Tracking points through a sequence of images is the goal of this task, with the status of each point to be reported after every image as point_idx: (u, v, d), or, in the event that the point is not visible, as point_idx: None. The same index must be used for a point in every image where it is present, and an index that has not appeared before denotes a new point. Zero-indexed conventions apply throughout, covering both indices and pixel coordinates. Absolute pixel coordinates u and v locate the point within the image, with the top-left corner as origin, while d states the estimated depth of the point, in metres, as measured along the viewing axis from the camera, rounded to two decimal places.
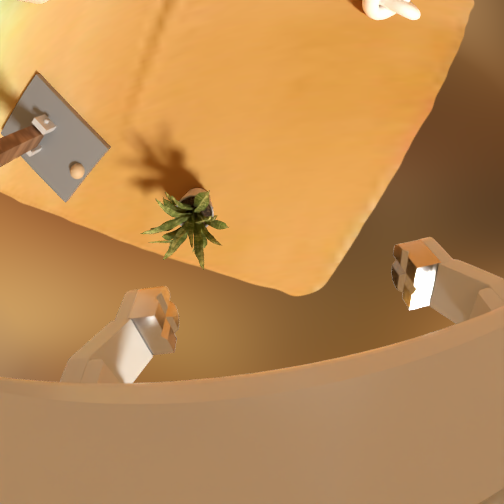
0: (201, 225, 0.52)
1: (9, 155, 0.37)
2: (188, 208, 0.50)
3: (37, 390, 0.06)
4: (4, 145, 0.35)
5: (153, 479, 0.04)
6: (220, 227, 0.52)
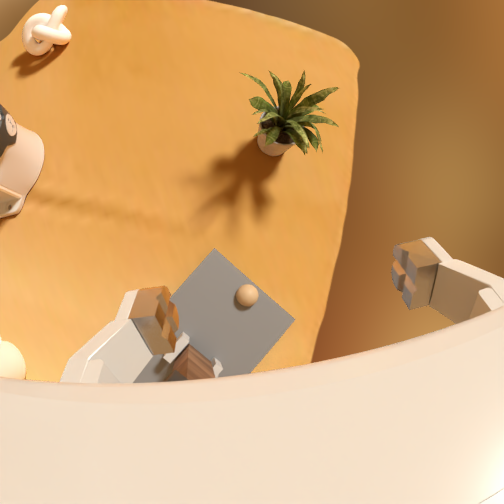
0: None
1: (202, 373, 0.30)
2: None
3: (37, 390, 0.06)
4: None
5: (153, 479, 0.04)
6: (289, 86, 0.41)
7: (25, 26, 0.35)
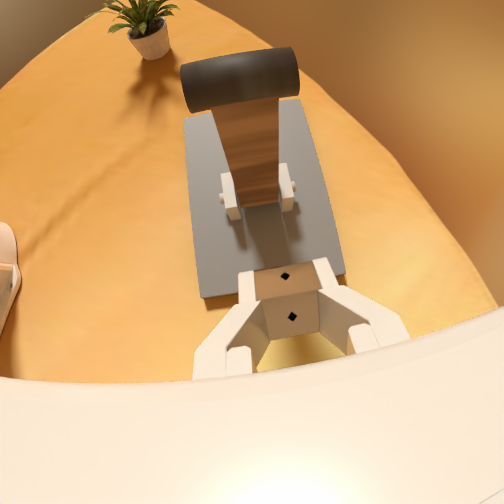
0: None
1: None
2: (130, 22, 0.35)
3: (37, 390, 0.06)
4: None
5: (154, 479, 0.04)
6: (125, 7, 0.36)
7: None
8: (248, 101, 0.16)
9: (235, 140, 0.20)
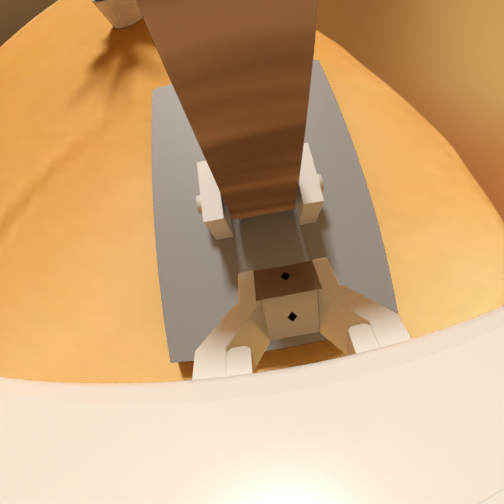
0: None
1: None
2: None
3: (37, 390, 0.06)
4: None
5: (154, 479, 0.04)
6: None
7: None
8: None
9: (203, 61, 0.07)
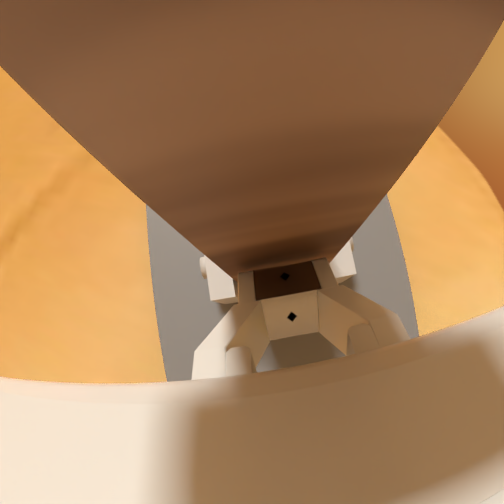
0: None
1: None
2: None
3: (37, 390, 0.06)
4: None
5: (153, 479, 0.04)
6: None
7: None
8: None
9: (206, 172, 0.04)
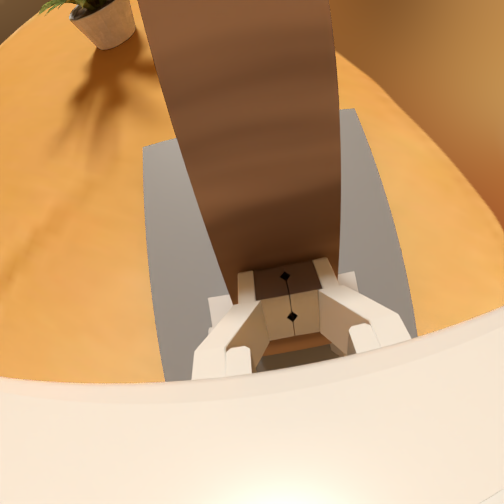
0: None
1: None
2: None
3: (37, 390, 0.06)
4: None
5: (153, 479, 0.04)
6: None
7: None
8: None
9: (201, 64, 0.06)
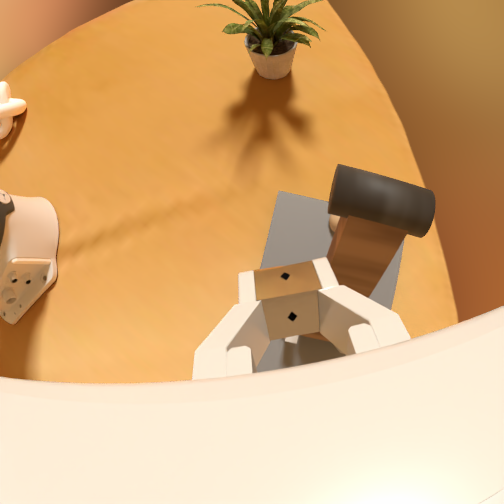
0: None
1: None
2: (254, 30, 0.30)
3: (37, 390, 0.06)
4: (334, 241, 0.22)
5: (154, 479, 0.04)
6: (252, 2, 0.30)
7: None
8: (382, 224, 0.18)
9: (347, 260, 0.21)
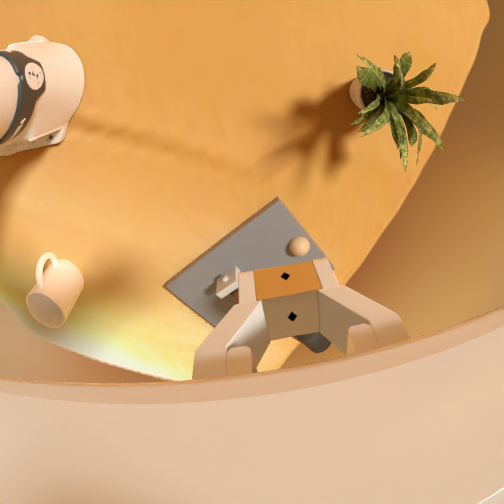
0: (403, 87, 0.28)
1: None
2: (378, 98, 0.29)
3: (37, 390, 0.06)
4: None
5: (154, 480, 0.04)
6: (409, 62, 0.26)
7: None
8: (297, 338, 0.35)
9: None
